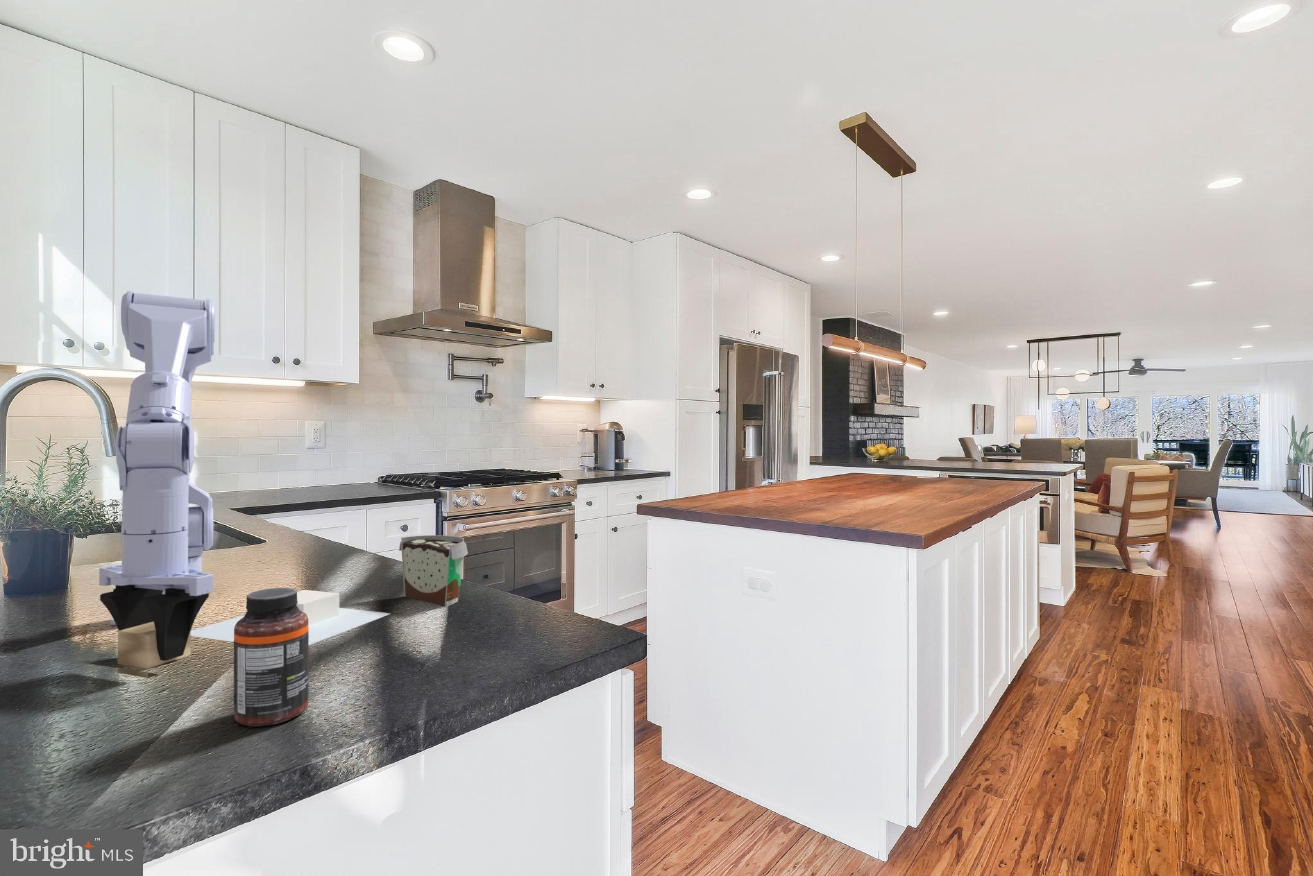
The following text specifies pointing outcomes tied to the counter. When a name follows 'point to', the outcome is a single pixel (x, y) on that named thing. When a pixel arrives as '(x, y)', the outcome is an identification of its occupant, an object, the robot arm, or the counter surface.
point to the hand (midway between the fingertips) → (154, 655)
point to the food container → (432, 567)
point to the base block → (318, 605)
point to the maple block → (142, 649)
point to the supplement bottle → (271, 659)
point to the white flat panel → (316, 631)
